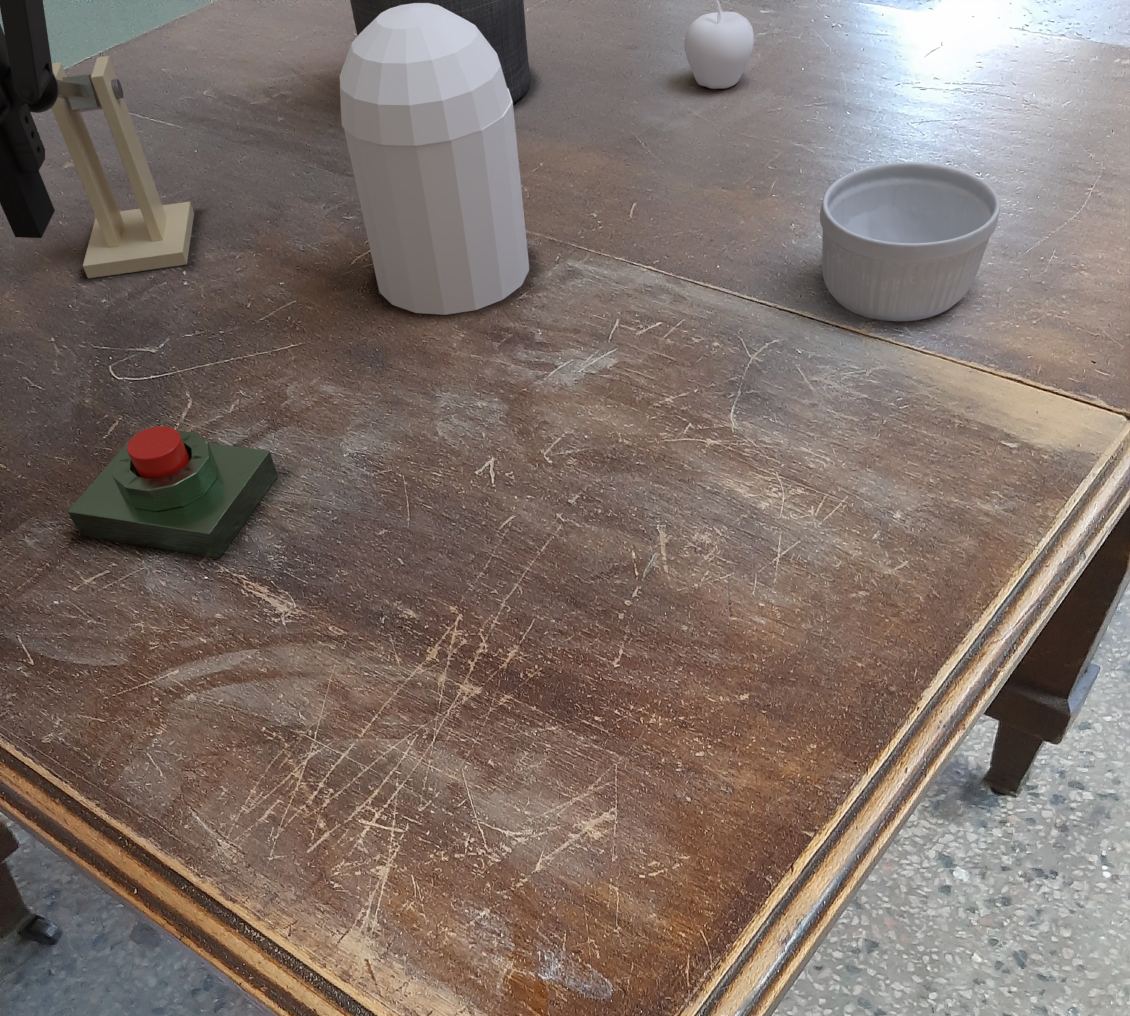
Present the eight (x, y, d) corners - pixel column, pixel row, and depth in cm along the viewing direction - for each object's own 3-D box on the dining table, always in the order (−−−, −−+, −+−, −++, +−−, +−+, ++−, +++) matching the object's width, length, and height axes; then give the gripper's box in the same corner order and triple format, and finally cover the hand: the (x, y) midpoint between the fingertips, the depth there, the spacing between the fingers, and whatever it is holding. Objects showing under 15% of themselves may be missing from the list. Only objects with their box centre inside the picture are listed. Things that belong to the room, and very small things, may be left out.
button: (126, 476, 73) (116, 455, 72) (153, 444, 75) (143, 423, 74) (172, 483, 72) (163, 461, 71) (198, 450, 74) (189, 429, 73)
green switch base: (80, 536, 75) (55, 489, 72) (146, 457, 80) (125, 411, 77) (219, 558, 73) (199, 511, 70) (278, 476, 78) (262, 428, 75)
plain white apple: (682, 71, 117) (684, -15, 111) (749, 67, 116) (754, -20, 110) (684, 98, 113) (686, 10, 106) (753, 94, 112) (759, 5, 106)
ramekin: (891, 351, 82) (908, 262, 76) (777, 283, 89) (785, 197, 84) (1015, 291, 86) (1039, 203, 80) (896, 230, 93) (911, 145, 88)
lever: (57, 108, 78) (39, 49, 76) (7, 114, 78) (-12, 56, 76) (117, 115, 93) (103, 66, 91) (75, 121, 93) (60, 71, 91)
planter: (337, 97, 119) (300, -77, 107) (462, 46, 126) (440, -123, 114) (436, 141, 111) (407, -43, 98) (564, 83, 117) (553, -96, 105)
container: (485, 326, 88) (446, 51, 72) (346, 300, 92) (282, 34, 77) (554, 247, 95) (533, -20, 80) (423, 226, 100) (379, -31, 84)
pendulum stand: (187, 264, 98) (123, 85, 87) (87, 278, 98) (10, 100, 86) (194, 213, 104) (136, 40, 93) (101, 226, 104) (30, 54, 92)
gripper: (-430, -329, 40) (-102, 259, 60) (-78, -320, 40) (132, 266, 60) (-333, -387, 44) (-56, 183, 64) (-14, -379, 44) (163, 189, 64)
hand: (35, 223), depth 62 cm, fingers closed
